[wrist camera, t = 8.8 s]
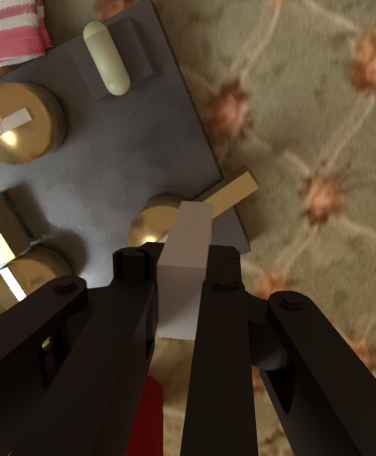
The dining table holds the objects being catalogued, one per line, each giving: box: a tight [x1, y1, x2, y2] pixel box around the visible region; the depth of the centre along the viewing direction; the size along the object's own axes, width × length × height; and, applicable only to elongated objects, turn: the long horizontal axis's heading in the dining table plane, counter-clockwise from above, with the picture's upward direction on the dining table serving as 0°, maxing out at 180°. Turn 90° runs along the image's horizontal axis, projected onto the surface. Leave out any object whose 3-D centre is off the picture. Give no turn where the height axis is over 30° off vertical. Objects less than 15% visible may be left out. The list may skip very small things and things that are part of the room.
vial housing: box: [68, 15, 159, 101], centre depth 26 cm, size 5×5×4 cm
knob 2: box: [0, 194, 72, 310], centre depth 33 cm, size 12×6×4 cm, turn 23°
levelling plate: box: [0, 0, 251, 288], centre depth 34 cm, size 22×26×2 cm
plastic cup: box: [125, 376, 163, 456], centre depth 38 cm, size 11×11×12 cm
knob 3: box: [127, 164, 259, 247], centre depth 30 cm, size 12×6×4 cm, turn 127°
